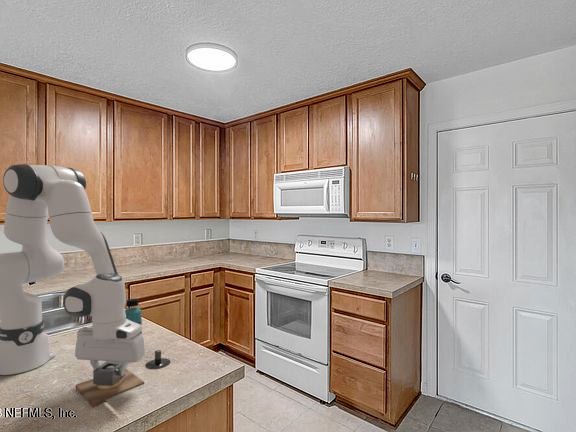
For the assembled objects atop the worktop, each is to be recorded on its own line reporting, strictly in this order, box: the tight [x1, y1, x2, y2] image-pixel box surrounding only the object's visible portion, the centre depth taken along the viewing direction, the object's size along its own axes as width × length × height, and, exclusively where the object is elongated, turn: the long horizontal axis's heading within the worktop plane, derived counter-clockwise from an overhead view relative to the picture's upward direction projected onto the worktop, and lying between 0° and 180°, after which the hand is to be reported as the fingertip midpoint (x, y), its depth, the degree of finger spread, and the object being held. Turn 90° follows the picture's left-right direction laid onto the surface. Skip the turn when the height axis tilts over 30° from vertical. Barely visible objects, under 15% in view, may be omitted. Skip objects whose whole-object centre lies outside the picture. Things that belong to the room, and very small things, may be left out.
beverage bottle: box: [125, 298, 143, 335], centre depth 121 cm, size 6×7×20 cm
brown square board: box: [75, 366, 145, 408], centre depth 97 cm, size 14×14×6 cm
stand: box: [144, 349, 171, 370], centre depth 110 cm, size 8×8×5 cm
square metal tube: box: [92, 361, 125, 386], centre depth 97 cm, size 6×6×4 cm
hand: (110, 374), depth 97 cm, fingers closed on square metal tube, 6 cm apart
